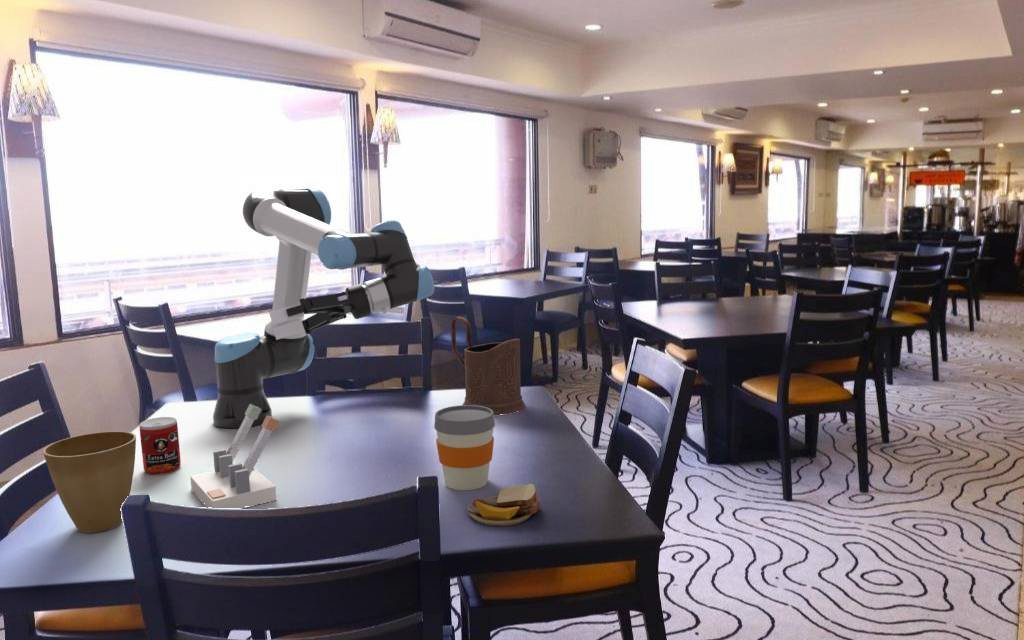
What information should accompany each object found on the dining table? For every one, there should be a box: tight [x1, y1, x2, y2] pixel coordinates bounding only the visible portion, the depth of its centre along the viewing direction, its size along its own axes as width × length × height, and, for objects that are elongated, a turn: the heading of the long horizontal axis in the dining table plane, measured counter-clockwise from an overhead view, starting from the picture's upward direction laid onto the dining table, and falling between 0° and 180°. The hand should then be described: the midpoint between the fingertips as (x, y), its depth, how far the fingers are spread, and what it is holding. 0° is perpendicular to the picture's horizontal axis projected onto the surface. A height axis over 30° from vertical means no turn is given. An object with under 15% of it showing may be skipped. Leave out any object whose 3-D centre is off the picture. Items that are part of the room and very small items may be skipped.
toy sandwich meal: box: [467, 483, 541, 527], centre depth 142 cm, size 12×14×5 cm
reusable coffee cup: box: [433, 404, 496, 491], centre depth 157 cm, size 13×13×15 cm
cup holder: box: [450, 316, 527, 416], centre depth 215 cm, size 18×24×25 cm
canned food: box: [139, 416, 182, 476], centre depth 169 cm, size 8×8×11 cm
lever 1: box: [226, 404, 262, 462], centre depth 158 cm, size 2×2×15 cm
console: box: [190, 448, 277, 509], centre depth 153 cm, size 17×12×7 cm
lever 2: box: [235, 415, 280, 484], centre depth 150 cm, size 2×2×15 cm
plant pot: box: [42, 430, 137, 534], centre depth 139 cm, size 15×15×16 cm
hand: (272, 326), depth 164 cm, fingers open, 13 cm apart
